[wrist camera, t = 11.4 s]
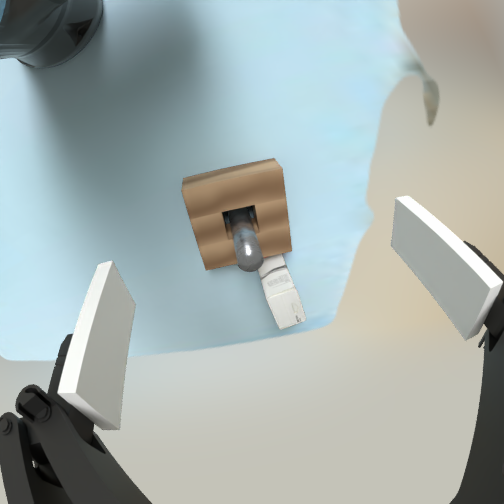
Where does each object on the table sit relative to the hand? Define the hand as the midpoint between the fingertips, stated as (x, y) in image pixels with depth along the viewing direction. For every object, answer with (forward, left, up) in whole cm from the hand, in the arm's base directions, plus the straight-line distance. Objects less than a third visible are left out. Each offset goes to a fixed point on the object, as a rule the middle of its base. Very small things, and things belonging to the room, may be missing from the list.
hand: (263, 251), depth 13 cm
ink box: (+27, +4, -33) cm, 43 cm away
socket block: (+14, 0, -33) cm, 36 cm away
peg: (+14, 0, -33) cm, 36 cm away
